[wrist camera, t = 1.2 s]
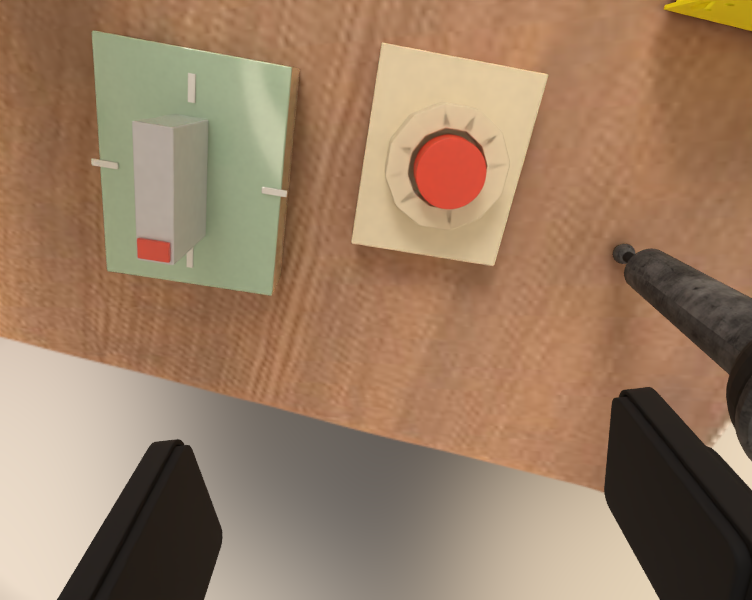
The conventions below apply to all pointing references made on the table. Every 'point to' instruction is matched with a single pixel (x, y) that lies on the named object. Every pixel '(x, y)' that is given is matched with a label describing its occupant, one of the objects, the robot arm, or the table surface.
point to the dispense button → (449, 171)
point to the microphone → (701, 321)
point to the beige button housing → (434, 118)
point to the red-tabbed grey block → (169, 185)
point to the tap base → (225, 155)
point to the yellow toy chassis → (716, 11)
